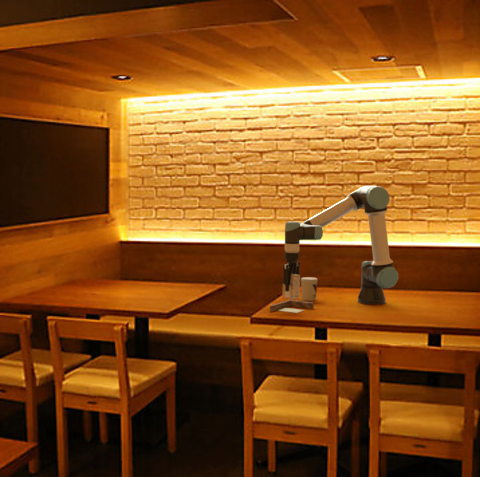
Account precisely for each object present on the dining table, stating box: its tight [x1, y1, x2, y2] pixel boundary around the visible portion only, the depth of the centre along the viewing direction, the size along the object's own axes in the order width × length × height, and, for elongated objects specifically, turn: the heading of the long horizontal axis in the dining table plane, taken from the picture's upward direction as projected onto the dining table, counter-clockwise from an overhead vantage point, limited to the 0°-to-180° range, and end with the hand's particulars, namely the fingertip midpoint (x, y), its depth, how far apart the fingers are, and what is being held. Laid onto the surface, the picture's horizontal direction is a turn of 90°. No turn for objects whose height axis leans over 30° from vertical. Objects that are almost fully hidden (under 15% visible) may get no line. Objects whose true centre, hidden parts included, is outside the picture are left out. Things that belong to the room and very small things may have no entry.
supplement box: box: [281, 274, 301, 301], centre depth 350 cm, size 8×5×13 cm, turn 40°
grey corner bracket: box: [269, 299, 315, 313], centre depth 353 cm, size 14×20×3 cm
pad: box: [277, 307, 305, 314], centre depth 352 cm, size 11×8×1 cm
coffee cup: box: [300, 276, 319, 302], centre depth 383 cm, size 9×9×12 cm
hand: (290, 296), depth 351 cm, fingers closed on supplement box, 6 cm apart
